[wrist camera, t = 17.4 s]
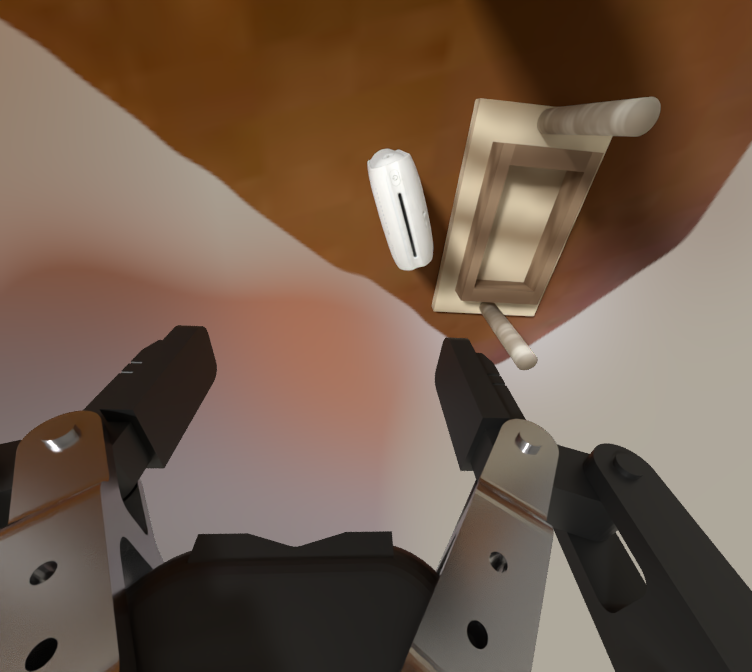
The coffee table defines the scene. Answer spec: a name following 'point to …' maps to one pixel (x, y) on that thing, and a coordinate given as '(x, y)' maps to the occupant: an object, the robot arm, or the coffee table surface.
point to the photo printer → (401, 208)
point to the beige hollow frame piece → (524, 203)
